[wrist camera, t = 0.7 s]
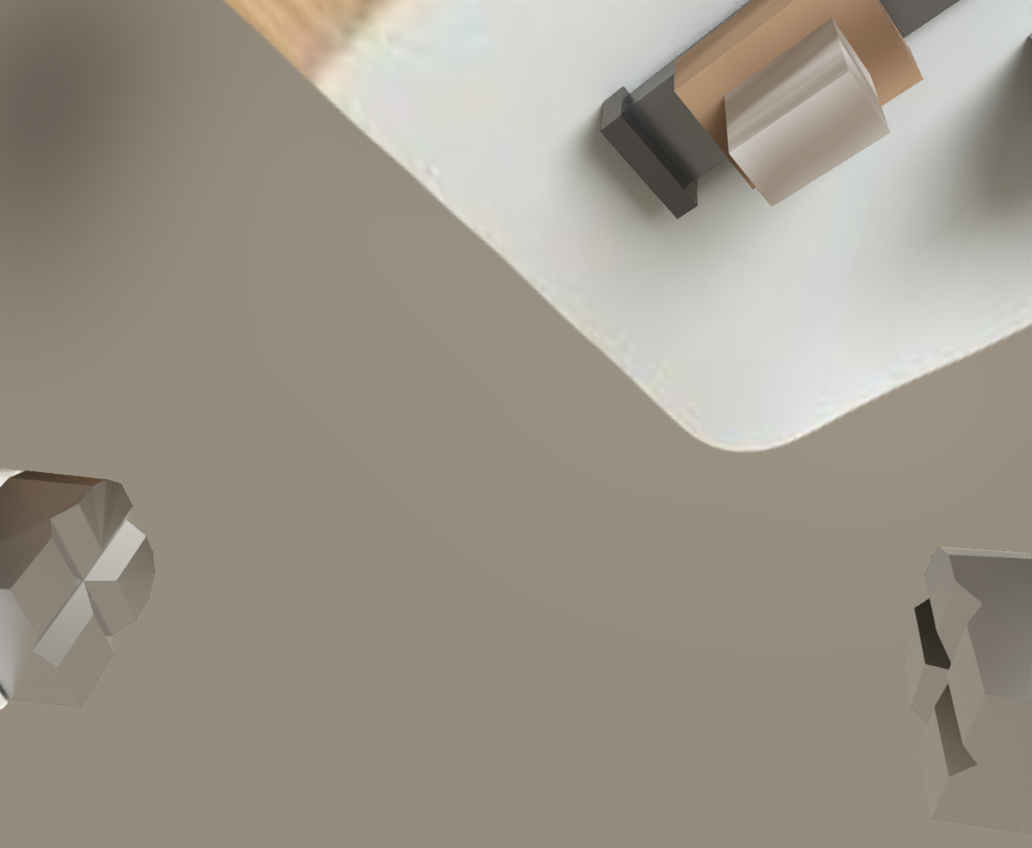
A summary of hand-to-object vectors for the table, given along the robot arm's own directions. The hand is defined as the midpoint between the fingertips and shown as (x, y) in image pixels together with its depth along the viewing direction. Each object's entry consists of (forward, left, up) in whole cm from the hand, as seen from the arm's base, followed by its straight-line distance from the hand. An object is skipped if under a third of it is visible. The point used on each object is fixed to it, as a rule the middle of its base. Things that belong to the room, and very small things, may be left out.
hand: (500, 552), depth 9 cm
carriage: (+12, -1, -36) cm, 37 cm away
